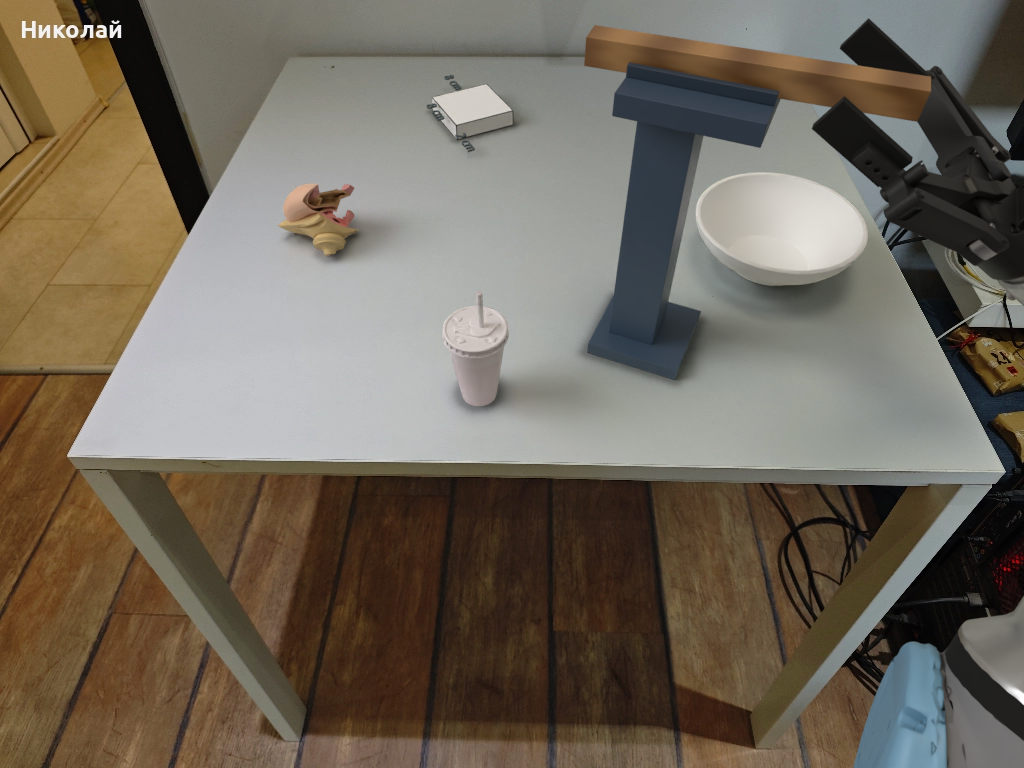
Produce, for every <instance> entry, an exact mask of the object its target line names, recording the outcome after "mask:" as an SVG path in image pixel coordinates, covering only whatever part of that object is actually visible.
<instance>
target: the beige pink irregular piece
mask: <svg viewBox="0 0 1024 768" xmlns="http://www.w3.org/2000/svg"><path fill="white" fill-rule="evenodd" d="M354 191H355V186H353V185H351V184H345V183H344V184H343V185H342V186H341V189H338V188H335V189H331V190H327V191H321V192H320V188H319V184H318V183H304V184H300V185H298V186H296V187H295V188H293V190H291V191H290V192H289V194H288V195H287V197H286V198H285V200H284V202H283V206H282V209H283V210H282V212H283V215H284V217H285V219H284V220H283V221H281V222H280V223H278V224H277V227H279V228H281V229H283V230H285V231H287V232H290V233H293V234H298V235H303V236H309V237H310V238H312V239H313V240H312V244H313V245H314V248H315V249H316V250H318V251H321V252H323V254H324V256H325V257H328V256H329V257H330V256H332V255H336V254H337V252H338V251H341V250H343V249H345V245H346V244H347V241H346V240H345V239H346V238H348V237H349V236H351V235H354V234H356V233H359V231H360V230H359V229H356V228H352V227H349V226H350V225H351V223H352V221H354V219H355V213H354V212H353V211H352V210H350V209H347V210H346V213H345V216H342V218H341V217H337V216H336V214H334V212H335V213H337V212H338V209H339V206H340V203H341V200H342V199H345V198H347V197H350V196H351V195H352V193H353V192H354Z"/></svg>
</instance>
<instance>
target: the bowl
mask: <svg viewBox="0 0 1024 768" xmlns="http://www.w3.org/2000/svg"><path fill="white" fill-rule="evenodd" d="M695 222H696V227H697V229H698V233H699V236H700V238H701V239H702V241H703V243H704V244H705V246H706V247H707V249H708V250H709V252H710V253H711V255H712V256H714V258H716V259H717V261H719V262H720V263H721V264H723V265H724V266H726V267H727V268H728V269H730V270H732V271H734V272H735V273H736V274H738V275H739V276H740V277H742V278H744V279H746V280H747V281H750V282H753V283H755V284H759V285H762V286H769V287H770V286H771V287H782V286H802V285H809V284H814V283H818V282H821V281H823V280H827V279H829V278H832V277H834V276H836V275H838V274H839V273H841V272H843V271H845V270H846V269H848V268H849V267H850V266H851V265H852V264H853V263H854V262H855V261H856V260H857V259H858V258H859V257H860V256H861V255H862V254H863V252H864V250H865V248H866V246H867V245H868V241H869V240H868V239H869V230H868V226H867V222H866V221H865V219H864V217H863V215H862V214H861V212H860V211H859V209H858V208H856V206H855V205H854V204H853V203H852V202H851V201H849V200H848V199H847V198H845V197H844V195H841V194H840V193H838V192H836V191H835V190H833V189H832V188H830V187H828V186H826V185H824V184H821V183H819V182H816V181H814V180H811V179H809V178H808V179H807V178H804V177H801V176H797V175H792V174H788V173H779V172H769V171H765V172H764V171H763V172H761V171H759V172H757V171H756V172H747V173H746V172H745V173H740V174H739V173H738V174H734V175H731V176H728V177H724V178H722V179H720V180H718V181H716V182H714V183H713V184H711V185H710V186H709V187H707V188H706V189H705V190H704V191H703V192H702V193H701V195H700V196H699V198H698V200H697V203H696V205H695Z"/></svg>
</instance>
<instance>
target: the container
mask: <svg viewBox="0 0 1024 768" xmlns="http://www.w3.org/2000/svg"><path fill="white" fill-rule="evenodd" d="M443 78H444V80H445V81H449V80H450V81H449V86H451V87H452V88H453V89H454V90H455V91H452V92H451V91H450V92H446V93H444V94H439V95H434V96H432V97H431V103H429V104H426V109H427V110H432V111H431V115H432V116H433V117H434V118H435V119H436V120H437V122H440V121H441V123H442V124H443V125H444V127H445V128H446V129H447V130H448V132H449V133H450V134H451V135H452V136H453V137H454V138H455V140H456V141H459V140H462V139H464V140H462V141H461V145H462V146H463V147H464V148H465V150H466V151H467V153H470V152H474V151H475V150H476V147H475V146H473V144H472V143H471V142H470V140H467V138H470V137H473V136H478V135H480V134H485V133H490V132H493V131H496V130H500V129H504V128H507V127H511V126H514V109H512V108H511V106H510V105H508V103H506V102H505V100H504V99H503V98H502V97H501V96H500V95H499V94H498V93H497V92H495V90H494V89H493V88H492V87H491V86H490V85H489V84H488V83H484V84H480V85H476V86H471V87H468V88H464V89H463V88H462V85H460V84H459V83H458V82H457V81H456V80H453V79H455V75H454V74H449V75H445V76H444V77H443ZM465 143H467V144H465Z"/></svg>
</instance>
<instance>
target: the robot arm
mask: <svg viewBox="0 0 1024 768" xmlns="http://www.w3.org/2000/svg"><path fill="white" fill-rule="evenodd" d="M839 50H840V51H841V52H843V53H844V54H845V55H846V56H847V57H848V58H849V59H850V60H851V61H852V62H853V63H854V64H855V65H858V66H865V67H871V68H878V69H884V70H891V71H897V72H904V73H910V74H917V75H923V76H930V77H931V93H930V95H929V97H928V100H927V102H926V104H925V106H924V108H923V111H922V113H921V115H920V117H919V119H918V121H917V122H916V123H917V124H918V126H919V128H920V129H921V131H922V132H923V134H924V136H925V137H926V139H927V140H928V142H929V144H930V145H931V146H932V148H933V150H934V152H935V153H936V155H937V159H936V161H935V166H936V168H937V170H938V171H939V173H936V172H931V171H929V170H928V169H927V166H926V164H925V163H923V162H924V161H923V160H921V159H920V160H919V161H918V162H917V163H915V164H914V165H913V166H911V167H910V168H908V169H905V168H907V167H908V166H910V164H912V162H913V159H914V157H913V155H911V154H910V153H909V152H908V151H907V150H906V149H904V148H903V147H902V146H901V145H900V144H899V143H898V142H897V141H895V140H894V139H893V138H892V137H891V136H890V135H889V134H888V133H887V132H885V130H883V129H882V128H881V127H880V126H878V124H876V122H874V121H873V120H872V119H871V118H870V117H868V116H867V114H866V113H863V112H862V111H861V110H860V109H858V108H857V107H856V106H855V105H854V104H853V103H852V102H851V101H849V100H848V99H847V98H846V97H845V96H844V97H843V98H842V99H841V100H840V101H838V102H837V103H836V104H835V105H834V106H833V107H830V108H829V109H828V110H827V111H826V112H825V113H824V114H822V116H820V117H819V118H818V119H816V121H815V122H813V124H812V126H811V130H812V131H813V132H815V133H816V134H817V135H818V136H819V137H820V138H822V140H824V141H825V142H826V143H827V144H828V145H829V146H830V147H831V148H833V149H834V150H835V151H836V152H837V153H838V154H840V155H841V156H842V157H843V158H844V159H845V160H846V161H847V162H849V163H850V164H851V165H852V166H853V167H854V168H855V169H857V170H858V171H859V172H860V173H861V174H862V175H863V176H865V177H866V178H867V179H868V180H869V181H870V182H871V183H872V184H874V185H875V186H876V187H877V188H880V190H879V194H880V196H881V198H882V199H883V200H884V201H885V203H888V206H886V207H885V208H884V209H883V216H884V218H885V219H886V220H887V221H888V222H890V223H891V224H894V226H895V225H896V226H898V227H900V228H902V229H905V230H907V231H909V232H911V233H913V234H916V235H918V236H920V237H922V238H924V239H926V240H929V241H931V242H933V243H935V244H937V245H940V246H943V247H944V248H946V249H948V250H951V251H953V252H955V253H957V254H958V255H959V256H960V257H962V258H963V259H965V260H966V261H967V262H968V263H969V264H971V265H972V266H974V267H978V268H979V269H980V270H981V271H982V272H983V273H984V274H986V275H987V276H988V277H989V278H990V279H992V280H995V281H997V283H998V285H999V286H1000V287H1001V288H1003V289H1004V290H1005V291H1006V293H1005V296H1006V298H1007V299H1008V301H1017V302H1018V303H1020V304H1021V305H1022V306H1023V307H1024V182H1013V181H1012V179H1011V177H1012V174H1011V171H1010V169H1009V168H1008V166H1007V165H1006V163H1007V162H1008V161H1010V160H1011V159H1012V156H1011V152H1010V151H1009V150H1008V149H1006V147H1004V146H1003V145H1002V143H1000V142H999V141H998V140H997V139H996V137H994V136H993V135H992V133H991V132H990V131H989V129H988V128H987V127H986V126H985V124H984V123H983V121H981V119H980V118H979V116H977V114H976V113H975V112H974V110H973V109H972V108H971V106H970V105H969V103H968V102H967V101H966V100H965V99H964V97H963V96H962V94H961V93H960V92H959V90H958V89H957V88H956V87H955V86H954V84H953V83H952V82H951V80H950V79H949V78H948V77H947V76H946V74H945V73H944V71H943V69H942V68H941V67H939V66H937V65H933V66H932V67H931V68H929V69H924V68H923V67H922V66H921V65H920V64H919V63H918V62H917V61H916V60H915V59H914V58H913V57H912V56H910V55H909V54H908V53H907V52H906V51H905V50H904V49H903V48H902V47H901V46H900V45H898V43H896V41H894V40H893V39H892V38H891V37H890V36H889V35H888V34H887V33H886V32H885V31H883V30H882V29H881V28H880V27H879V26H878V25H877V24H876V23H875V22H874V21H872V20H871V19H870V18H867V19H866V20H865V21H864V22H863V23H861V25H860V26H859V27H858V28H857V29H856V30H855V31H854V32H853V33H851V34H850V35H849V37H847V39H845V40H844V41H843V42H842V43H841V44H840V47H839ZM922 163H923V164H922ZM915 210H916V211H915ZM913 211H914V212H913ZM853 768H1024V595H1023V596H1022V598H1021V600H1020V601H1019V603H1018V604H1017V606H1016V607H1015V609H1014V610H1012V611H1010V612H1008V613H1006V614H999V615H993V616H986V617H978V618H972V619H971V618H970V619H967V620H965V621H964V622H963V623H962V624H961V626H960V627H959V628H958V630H957V631H956V633H955V635H954V637H953V638H952V639H951V641H950V643H949V644H948V646H947V647H946V648H945V650H944V651H942V652H940V651H939V650H938V648H937V647H936V646H934V645H933V644H931V643H929V642H928V643H920V642H918V641H909V642H906V643H905V644H903V645H902V646H901V647H900V649H899V650H898V653H897V655H895V656H894V657H893V658H892V659H891V661H890V663H889V665H888V667H887V669H886V670H885V672H884V674H883V677H882V679H881V681H880V683H879V685H878V687H877V691H876V693H875V695H874V698H873V701H872V704H871V707H870V709H869V712H868V715H867V718H866V722H865V724H864V726H863V730H862V734H861V737H860V742H859V745H858V748H857V751H856V755H855V759H854V763H853Z"/></svg>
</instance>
